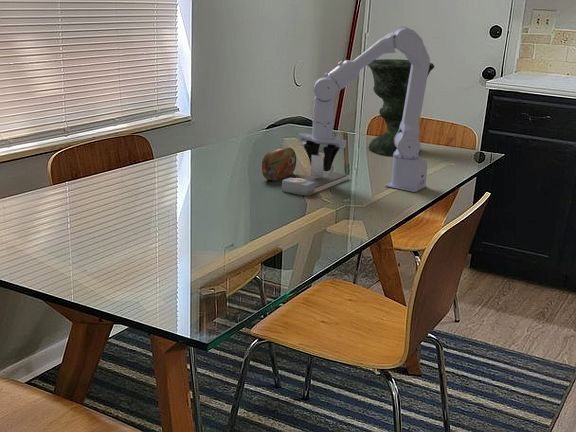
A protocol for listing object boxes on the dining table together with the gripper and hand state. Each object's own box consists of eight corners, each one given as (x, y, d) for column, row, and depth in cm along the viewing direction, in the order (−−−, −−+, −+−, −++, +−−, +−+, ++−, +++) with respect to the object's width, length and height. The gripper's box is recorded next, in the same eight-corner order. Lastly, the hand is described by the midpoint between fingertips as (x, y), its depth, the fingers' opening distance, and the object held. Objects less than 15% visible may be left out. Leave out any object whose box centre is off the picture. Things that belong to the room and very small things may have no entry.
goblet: (350, 151, 255) (355, 61, 246) (381, 140, 273) (387, 57, 263) (408, 161, 243) (416, 68, 234) (437, 150, 261) (445, 63, 252)
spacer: (330, 174, 213) (331, 154, 211) (322, 177, 210) (323, 156, 208) (318, 172, 215) (319, 152, 213) (310, 175, 212) (311, 154, 210)
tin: (268, 183, 212) (269, 154, 209) (259, 181, 213) (260, 153, 211) (296, 173, 224) (297, 145, 221) (287, 171, 225) (288, 144, 223)
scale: (348, 179, 219) (349, 167, 218) (306, 196, 200) (306, 183, 199) (325, 174, 223) (325, 163, 222) (281, 191, 204) (281, 178, 203)
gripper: (293, 120, 208) (291, 167, 212) (338, 127, 201) (335, 176, 205) (306, 117, 214) (305, 163, 218) (351, 123, 206) (348, 171, 211)
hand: (320, 169), depth 212 cm, fingers closed on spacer, 4 cm apart
